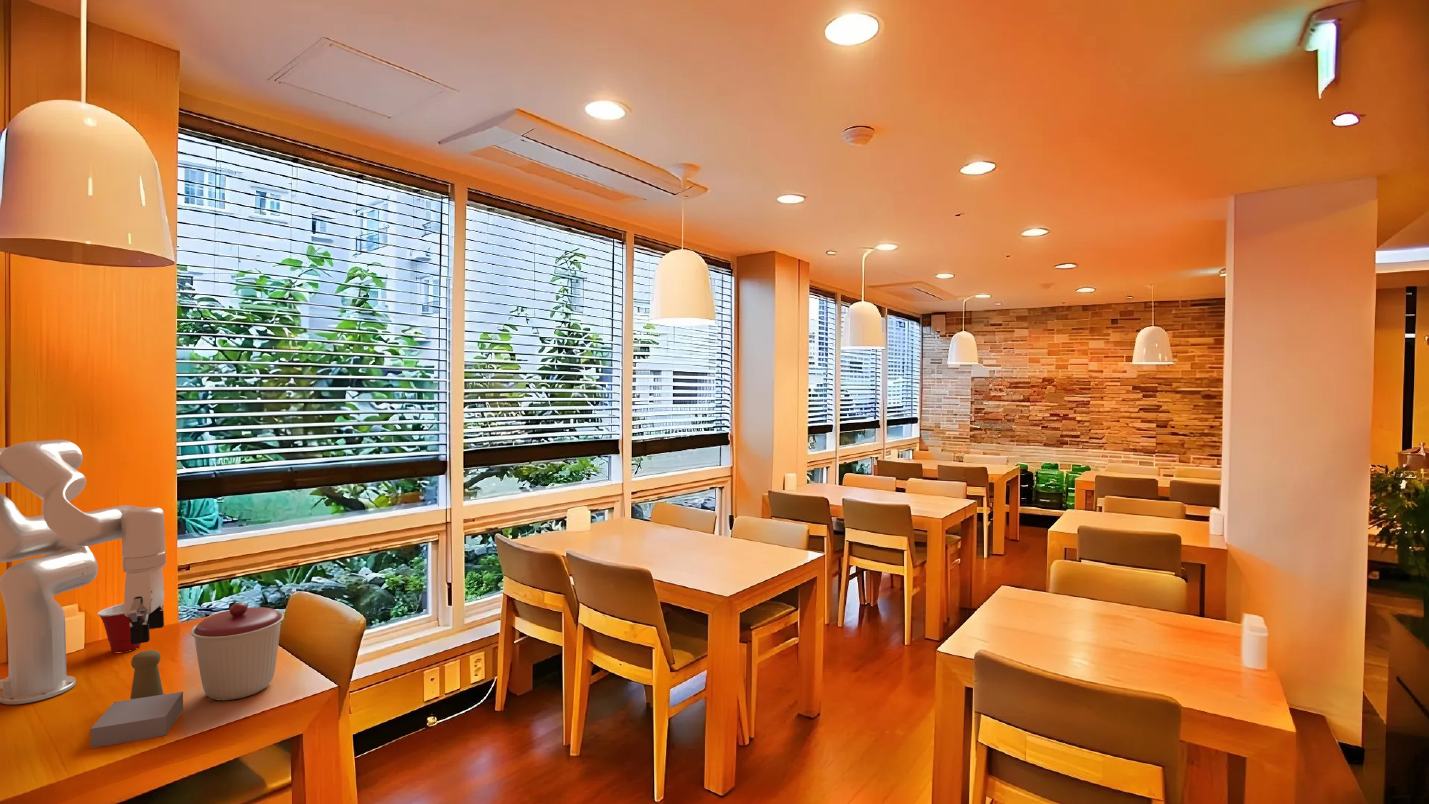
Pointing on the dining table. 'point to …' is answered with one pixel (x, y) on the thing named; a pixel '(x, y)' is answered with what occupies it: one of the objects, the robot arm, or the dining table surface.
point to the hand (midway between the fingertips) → (148, 635)
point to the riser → (137, 719)
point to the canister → (237, 650)
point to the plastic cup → (118, 628)
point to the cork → (146, 675)
